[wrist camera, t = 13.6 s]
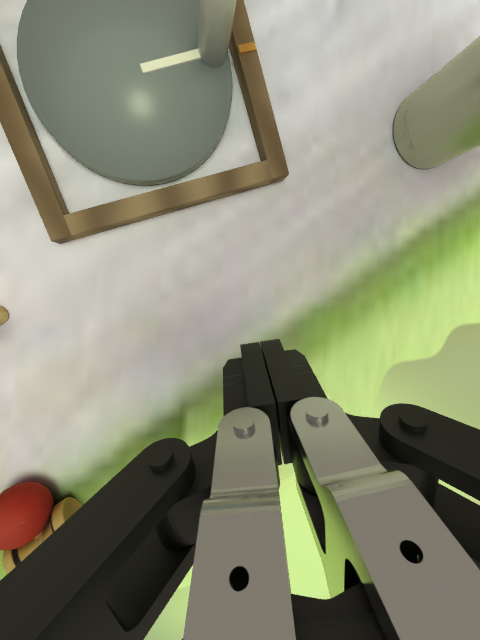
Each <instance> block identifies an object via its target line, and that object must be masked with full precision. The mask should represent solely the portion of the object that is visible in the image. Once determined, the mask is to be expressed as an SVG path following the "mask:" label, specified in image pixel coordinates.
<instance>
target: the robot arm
mask: <svg viewBox="0 0 480 640" xmlns="http://www.w3.org/2000/svg"><path fill="white" fill-rule="evenodd" d="M393 132H394V140H395V144H396V147H397V149H398V151H399V153H400V155H401V156H402V157H403V159H404V160H405V161H406V162H408V163H409V164H410V165H412V166H414V167H416V168H420V169H430V168H433V167H436V166H438V165H440V164H442V163H444V162H446V161H448V160H451V159H453V158H455V157H457V156H459V155H461V154H464V153H466V152H468V151H470V150H472V149H474V148H476V147H478V146H480V36H479V37H478V38H477V39H476V40H475V41H474V42H472V43H471V44H470V45H469V46H468V47H466V48H465V49H464V50H463V51H462V52H461V53H459V54H458V55H457V56H456V57H455V58H453V59H452V60H451V61H450V62H449V63H448V64H446V65H445V66H444V67H443V68H442V69H440V70H439V71H438V72H437V73H436V74H434V75H433V76H432V77H431V78H430V79H429V80H427V81H426V82H425V83H424V84H423V85H421V86H420V87H419V88H418V89H417V90H416V91H414V92H413V93H412V94H411V95H410V96H409V97H408V98H406V99H405V100H404V101H403V103H402V104H401V105H400V107H399V109H398V111H397V113H396V116H395V120H394V129H393ZM240 346H241V354H242V358H236V359H229V360H228V361H227V363H226V364H225V366H224V367H223V386H224V387H223V402H224V417H223V418H222V420H221V421H220V423H219V426H218V430H217V431H216V433H214V434H213V435H212V436H211V437H209V438H208V439H206V440H204V441H202V442H199V443H197V444H195V445H193V446H190V447H189V446H188V445H187V444H186V442H184V441H183V440H180V439H177V438H166V439H162V440H159V441H157V442H155V443H153V444H151V445H149V446H148V447H147V448H145V449H144V450H143V451H142V452H141V453H140V454H139V455H138V456H136V457H135V458H134V459H133V460H132V461H131V462H130V463H129V464H128V465H127V466H126V467H124V468H123V469H122V470H121V471H120V472H119V473H118V474H117V475H116V476H115V477H113V478H112V479H111V480H110V481H109V482H108V483H107V484H106V485H105V486H104V487H103V488H101V489H100V490H99V491H98V492H97V493H96V494H95V495H94V496H93V497H92V498H90V499H89V500H88V501H87V502H86V503H85V504H84V505H83V506H82V507H81V508H80V509H78V510H77V511H76V512H75V513H74V514H73V515H72V516H71V517H70V518H69V519H67V520H66V521H65V522H64V523H63V524H62V525H61V526H60V527H59V528H58V529H56V530H55V531H54V532H53V533H52V534H51V535H50V536H49V537H48V538H47V539H46V540H44V541H43V542H42V543H41V544H40V545H39V546H38V547H37V548H36V549H35V550H33V551H32V552H31V553H30V554H29V555H28V556H27V557H26V558H25V559H24V560H23V561H21V562H20V563H19V564H18V565H17V566H16V567H15V568H14V569H13V570H12V571H10V572H9V573H8V574H7V575H6V576H5V577H4V578H3V579H2V580H1V581H0V640H143V639H144V638H145V636H146V635H147V633H148V631H149V630H150V629H151V627H152V626H153V624H154V623H155V621H156V620H157V618H158V617H159V615H160V614H161V612H162V610H163V609H164V608H165V606H166V604H167V603H168V602H169V600H170V598H171V597H172V595H173V594H174V592H175V591H176V589H177V588H178V586H179V585H180V583H181V582H182V580H183V579H184V577H185V576H186V574H187V573H188V571H189V570H190V568H191V567H192V565H193V571H192V578H191V585H190V593H189V601H188V608H187V615H186V623H185V629H184V637H183V639H182V640H480V505H478V504H476V503H474V502H472V501H470V500H468V499H467V498H465V497H463V496H461V495H459V494H457V493H456V492H454V491H452V490H450V489H448V488H446V487H445V486H443V485H441V484H439V483H438V481H439V479H440V480H442V481H444V482H445V483H447V484H449V485H451V486H453V487H455V488H457V489H459V490H461V491H462V492H464V493H466V494H468V495H470V496H472V497H474V498H475V499H477V500H479V501H480V430H479V429H477V428H474V427H471V426H469V425H466V424H463V423H461V422H458V421H456V420H453V419H451V418H448V417H445V416H443V415H440V414H438V413H436V412H433V411H430V410H428V409H425V408H423V407H420V406H416V405H412V404H393V405H390V406H388V407H386V408H385V409H384V410H383V411H382V412H381V415H380V418H370V417H359V416H353V415H349V414H347V413H345V412H344V411H343V409H342V408H341V407H340V406H339V405H338V404H337V403H335V402H333V401H331V400H329V399H328V398H327V397H326V395H325V393H324V391H323V389H322V387H321V386H320V384H319V382H318V380H317V378H316V376H315V374H314V373H313V371H312V369H311V367H310V366H309V363H308V361H307V360H306V358H305V356H304V355H303V354H301V353H300V352H298V351H297V350H295V349H294V350H287V351H284V349H283V347H282V344H281V342H280V340H279V339H275V340H268V341H261V342H260V344H259V342H255V343H249V344H242V345H240ZM260 347H261V348H260ZM280 448H281V450H280ZM281 452H282V456H283V461H284V464H288V463H293V467H294V471H295V474H296V485H297V490H298V493H299V496H300V499H301V502H302V505H303V508H304V510H305V513H306V516H307V519H308V522H309V525H310V528H311V531H312V534H313V537H314V539H315V542H316V545H317V548H318V551H319V554H320V557H321V559H322V563H323V566H324V570H325V574H326V579H327V584H328V588H329V593H330V596H331V599H327V600H324V599H317V598H311V597H305V596H300V595H295V594H291V589H290V580H289V572H288V565H287V556H286V547H285V539H284V531H283V523H282V514H281V507H280V497H279V486H280V478H279V470H278V465H282V459H281Z"/></svg>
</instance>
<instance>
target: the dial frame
mask: <svg viewBox="0 0 480 640" xmlns="http://www.w3.org/2000/svg"><path fill="white" fill-rule="evenodd" d="M229 47H230V51H231V54H232V58H233V62H234V65H235V69H236V72H237V76H238V80H239V83H240V87H241V90H242V94H243V98H244V101H245V105H246V109H247V112H248V116H249V119H250V123H251V127H252V130H253V134H254V137H255V141H256V145H257V148H258V152H259V155H260V159H261V162H257V163H254V164H250V165H246V166H243V167H239V168H235V169H232V170H228V171H224V172H221V173H217V174H213V175H210V176H206V177H202V178H199V179H195V180H191V181H187V182H184V183H180V184H176V185H173V186H169V187H165V188H162V189H158V190H154V191H151V192H147V193H143V194H140V195H136V196H132V197H129V198H125V199H121V200H118V201H114V202H110V203H107V204H103V205H99V206H96V207H92V208H88V209H85V210H81V211H77V212H74V213H70V214H69V212H68V210H67V207H66V205H65V202H64V200H63V198H62V195H61V193H60V190H59V188H58V185H57V183H56V181H55V178H54V176H53V173H52V171H51V168H50V166H49V163H48V161H47V159H46V156H45V154H44V151H43V149H42V146H41V144H40V141H39V139H38V137H37V134H36V132H35V129H34V127H33V124H32V122H31V119H30V117H29V115H28V112H27V110H26V107H25V105H24V102H23V100H22V97H21V95H20V93H19V90H18V88H17V85H16V83H15V80H14V78H13V75H12V73H11V71H10V68H9V66H8V63H7V61H6V58H5V56H4V53H3V51H2V49H1V46H0V122H1V125H2V127H3V129H4V132H5V134H6V136H7V139H8V141H9V143H10V146H11V148H12V150H13V153H14V155H15V157H16V160H17V162H18V164H19V167H20V169H21V171H22V174H23V176H24V178H25V181H26V183H27V185H28V188H29V190H30V192H31V195H32V197H33V199H34V202H35V204H36V206H37V209H38V211H39V213H40V216H41V218H42V220H43V223H44V225H45V227H46V230H47V232H48V234H49V237H50V239H51V241H53V242H56V243H60V244H61V243H64V242H68V241H71V240H75V239H78V238H82V237H85V236H89V235H93V234H96V233H100V232H103V231H107V230H110V229H114V228H117V227H121V226H124V225H128V224H131V223H135V222H138V221H142V220H145V219H149V218H152V217H156V216H159V215H163V214H166V213H170V212H173V211H177V210H180V209H184V208H187V207H191V206H194V205H198V204H201V203H205V202H208V201H212V200H215V199H219V198H222V197H226V196H229V195H233V194H236V193H240V192H243V191H247V190H251V189H254V188H258V187H261V186H265V185H268V184H272V183H275V182H279V181H282V180H284V179H285V178H286V177H287V175H288V174H289V172H288V168H287V164H286V160H285V156H284V153H283V149H282V145H281V141H280V137H279V134H278V130H277V126H276V122H275V118H274V114H273V111H272V107H271V103H270V99H269V95H268V92H267V88H266V84H265V80H264V76H263V73H262V69H261V65H260V61H259V57H258V53H257V50H256V46H255V42H254V38H253V34H252V31H251V27H250V23H249V19H248V15H247V12H246V8H245V4H244V0H237V1H236V7H235V13H234V19H233V25H232V30H231V36H230V42H229Z"/></svg>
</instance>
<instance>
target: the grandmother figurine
mask: <svg viewBox="0 0 480 640" xmlns="http://www.w3.org/2000/svg"><path fill="white" fill-rule="evenodd" d="M8 317H9V313H8V311H7V310H6V309H5V308H4V307H2V306H0V325H1V324H3V323H4V322H6V321H7V320H8Z"/></svg>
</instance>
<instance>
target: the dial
mask: <svg viewBox="0 0 480 640" xmlns="http://www.w3.org/2000/svg"><path fill="white" fill-rule="evenodd" d="M236 1H237V0H27V2H26V4H25V7H24V9H23V11H22V15H21V19H20V22H19V27H18V35H17V59H18V66H19V72H20V76H21V79H22V83H23V87H24V89H25V92H26V94H27V97H28V99H29V102H30V104H31V106H32V107H33V109H34V111H35V113H36V115H37V116H38V118H39V119H40V121H41V122H42V124H43V125H44V126H45V128H46V129H47V131H48V132H49V133H50V134H51V135H52V136H53V137H54V138H55V140H56V141H57V142H58V143H59V144H60V145H61V146H62V147H63V148H64V149H65V150H66V151H67V152H68V153H69V154H70V155H71V156H72V157H73V158H75V159H76V160H77V161H78V162H80V163H81V164H83V165H84V166H86V167H87V168H89V169H90V170H92V171H94V172H96V173H98V174H99V175H102V176H104V177H107V178H109V179H112V180H115V181H118V182H122V183H126V184H134V185H156V184H164V183H167V182H171V181H174V180H177V179H179V178H181V177H184V176H186V175H187V174H189V173H191V172H192V171H194V170H195V169H196V168H198V167H199V166H200V165H201V164H202V163H204V162H205V160H206V159H207V158H208V157H209V156H210V155H211V154H212V152H213V151H214V149H215V148H216V146H217V145H218V143H219V141H220V139H221V137H222V135H223V132H224V129H225V126H226V123H227V119H228V115H229V111H230V106H231V100H232V71H231V65H230V59H229V56H228V48H229V42H230V36H231V30H232V25H233V19H234V13H235V7H236Z"/></svg>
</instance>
